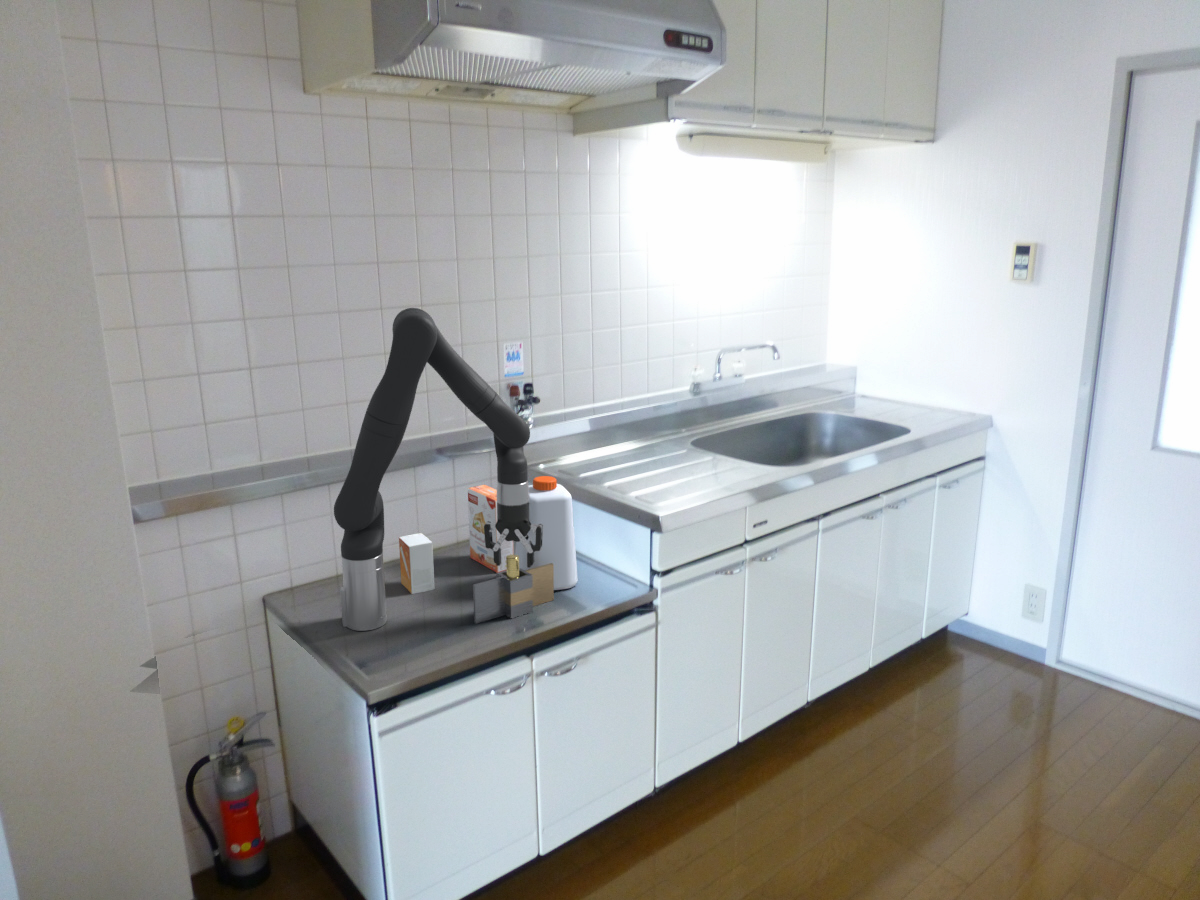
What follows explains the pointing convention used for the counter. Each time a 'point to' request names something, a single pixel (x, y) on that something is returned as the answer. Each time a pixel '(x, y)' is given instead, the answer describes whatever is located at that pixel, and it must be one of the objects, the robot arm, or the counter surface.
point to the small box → (416, 563)
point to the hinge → (513, 593)
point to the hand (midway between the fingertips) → (514, 565)
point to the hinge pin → (512, 566)
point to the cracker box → (480, 513)
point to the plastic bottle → (552, 531)
